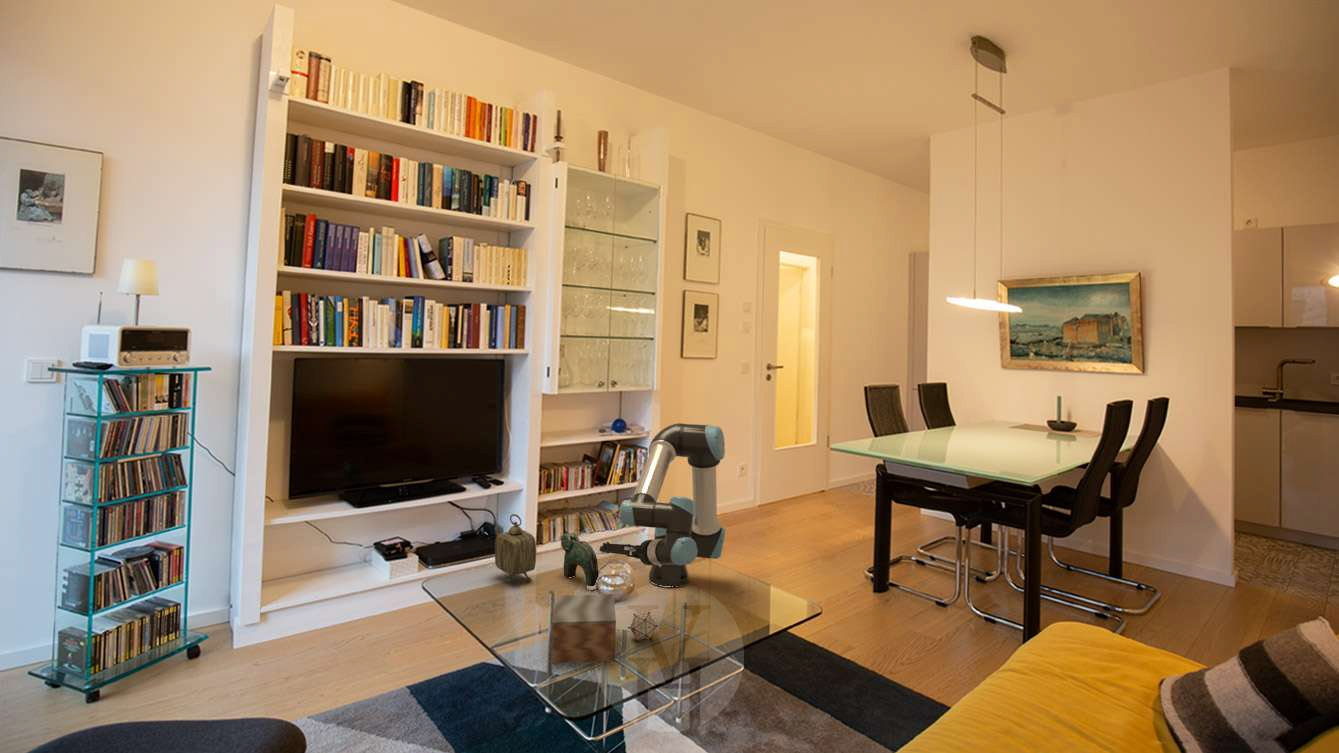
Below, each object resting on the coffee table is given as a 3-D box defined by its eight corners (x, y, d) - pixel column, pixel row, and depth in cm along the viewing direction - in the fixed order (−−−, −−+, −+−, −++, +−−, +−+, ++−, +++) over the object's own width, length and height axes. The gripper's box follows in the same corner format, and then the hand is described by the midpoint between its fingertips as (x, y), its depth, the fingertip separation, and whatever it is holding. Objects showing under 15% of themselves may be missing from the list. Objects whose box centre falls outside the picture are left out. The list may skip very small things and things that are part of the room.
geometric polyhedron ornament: (646, 653, 197) (652, 637, 190) (621, 640, 198) (627, 624, 192) (657, 628, 203) (664, 613, 197) (633, 616, 205) (639, 600, 198)
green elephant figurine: (558, 575, 245) (559, 524, 244) (573, 571, 250) (573, 521, 248) (588, 592, 231) (589, 538, 229) (603, 588, 235) (604, 535, 233)
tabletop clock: (535, 582, 239) (536, 516, 237) (515, 589, 232) (515, 521, 230) (513, 571, 249) (513, 508, 247) (493, 577, 242) (493, 512, 240)
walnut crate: (612, 630, 202) (613, 594, 202) (615, 660, 185) (615, 620, 184) (554, 632, 200) (555, 595, 199) (551, 663, 182) (552, 622, 181)
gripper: (620, 557, 185) (580, 558, 200) (684, 572, 199) (641, 572, 215) (624, 531, 188) (584, 534, 203) (686, 547, 202) (644, 549, 217)
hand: (613, 553), depth 209 cm, fingers open, 13 cm apart
